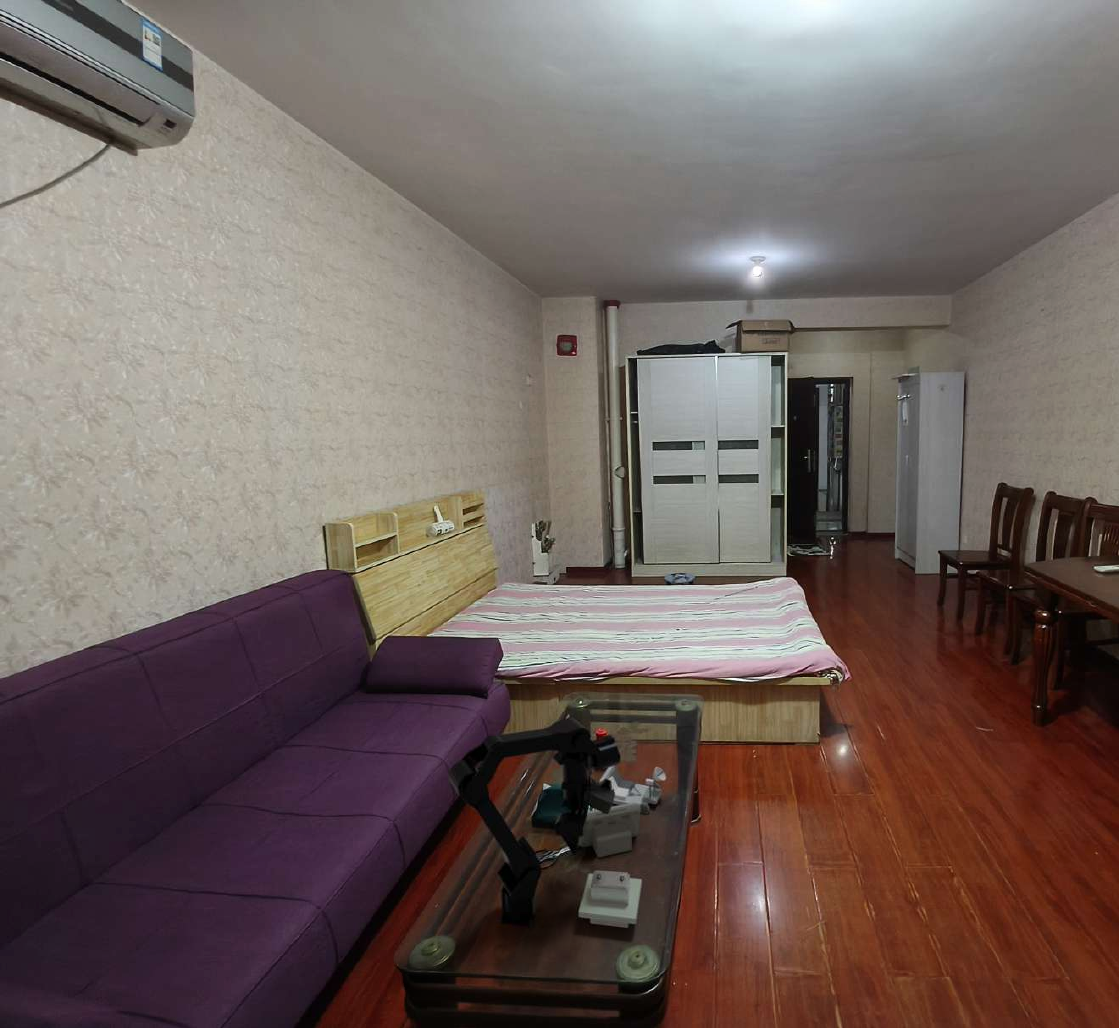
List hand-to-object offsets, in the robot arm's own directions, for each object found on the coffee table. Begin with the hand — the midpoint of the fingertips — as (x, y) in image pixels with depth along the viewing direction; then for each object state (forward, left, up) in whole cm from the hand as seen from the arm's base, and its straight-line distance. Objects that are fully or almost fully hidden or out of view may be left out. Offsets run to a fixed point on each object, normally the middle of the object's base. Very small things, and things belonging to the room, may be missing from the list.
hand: (578, 840), depth 149 cm
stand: (+8, -6, -12) cm, 16 cm away
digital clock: (+4, +17, -12) cm, 21 cm away
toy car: (+8, +38, -13) cm, 41 cm away
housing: (+8, -6, -8) cm, 13 cm away
